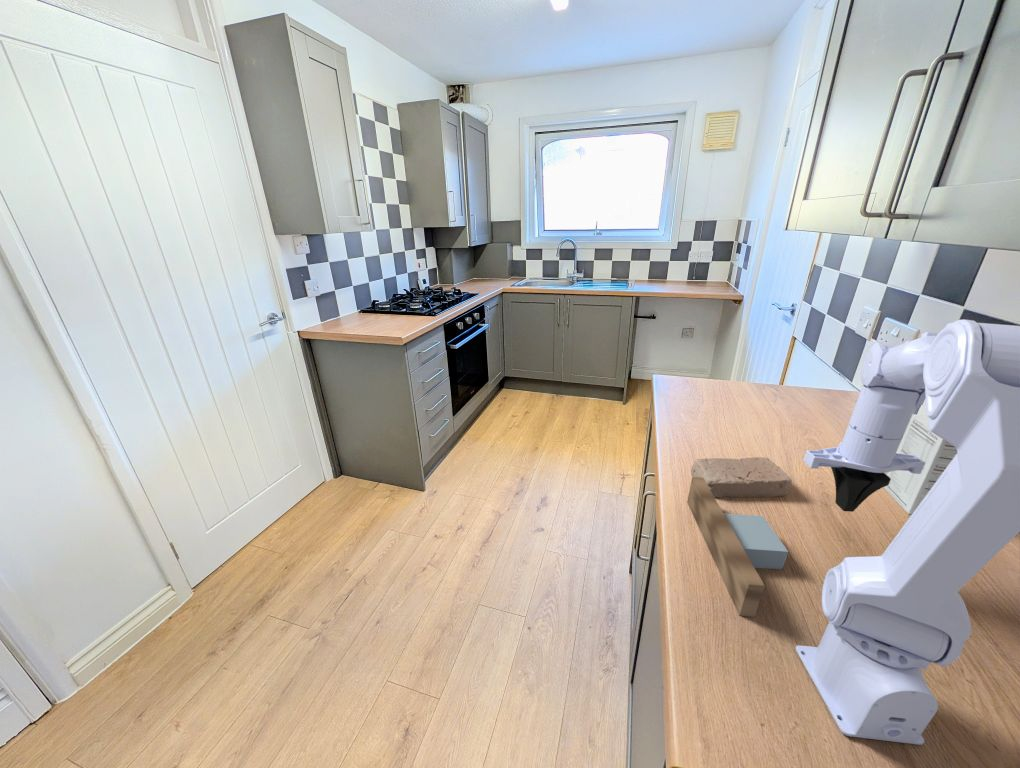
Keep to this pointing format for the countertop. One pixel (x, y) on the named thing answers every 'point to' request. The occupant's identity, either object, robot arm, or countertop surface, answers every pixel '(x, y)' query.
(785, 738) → the countertop surface
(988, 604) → the countertop surface
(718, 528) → the fence board
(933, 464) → the supplement box
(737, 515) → the grey block
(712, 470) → the brick
